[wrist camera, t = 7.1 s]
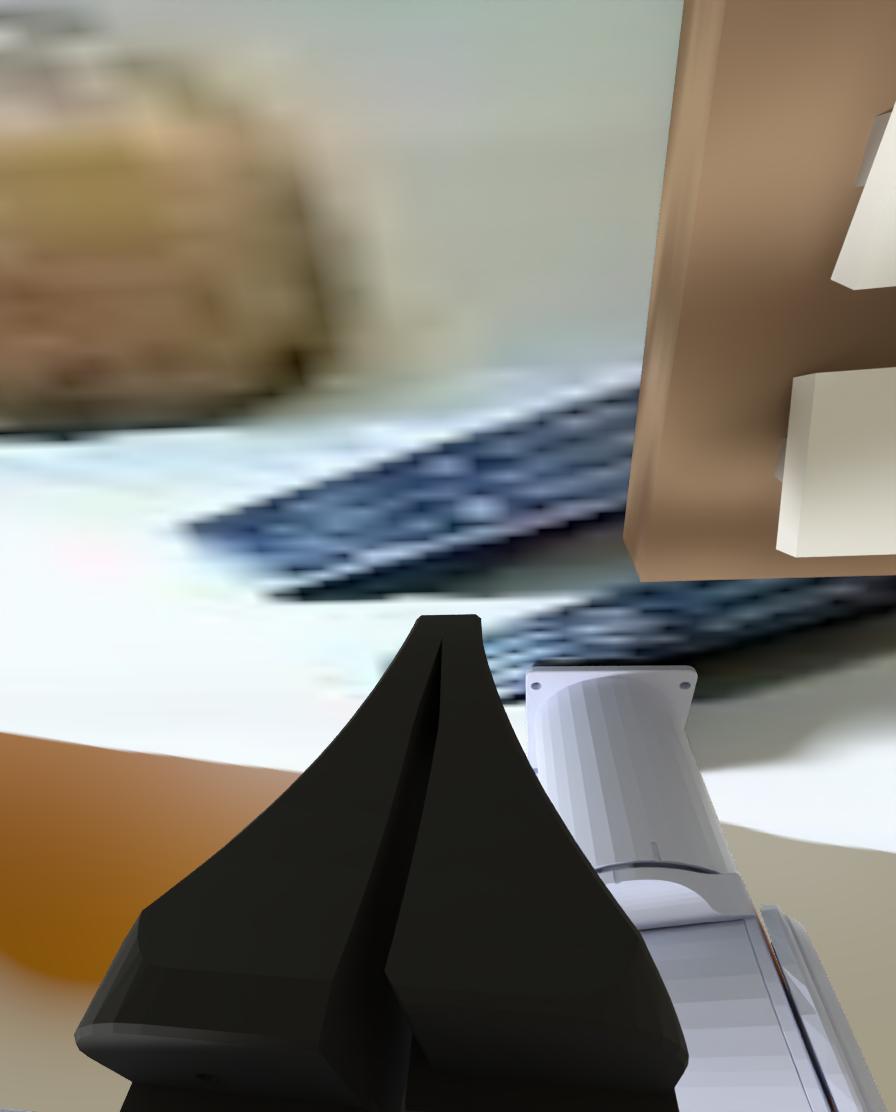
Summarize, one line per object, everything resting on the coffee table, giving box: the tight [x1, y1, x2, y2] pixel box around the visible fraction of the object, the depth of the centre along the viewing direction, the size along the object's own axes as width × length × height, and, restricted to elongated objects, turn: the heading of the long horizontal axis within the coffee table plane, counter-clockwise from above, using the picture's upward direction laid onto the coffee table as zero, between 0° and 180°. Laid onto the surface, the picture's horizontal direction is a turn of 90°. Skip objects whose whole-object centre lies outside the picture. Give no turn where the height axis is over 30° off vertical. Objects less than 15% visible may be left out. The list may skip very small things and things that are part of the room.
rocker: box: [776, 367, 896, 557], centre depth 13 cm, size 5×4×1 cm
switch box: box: [623, 0, 896, 582], centre depth 13 cm, size 16×10×4 cm, turn 6°
